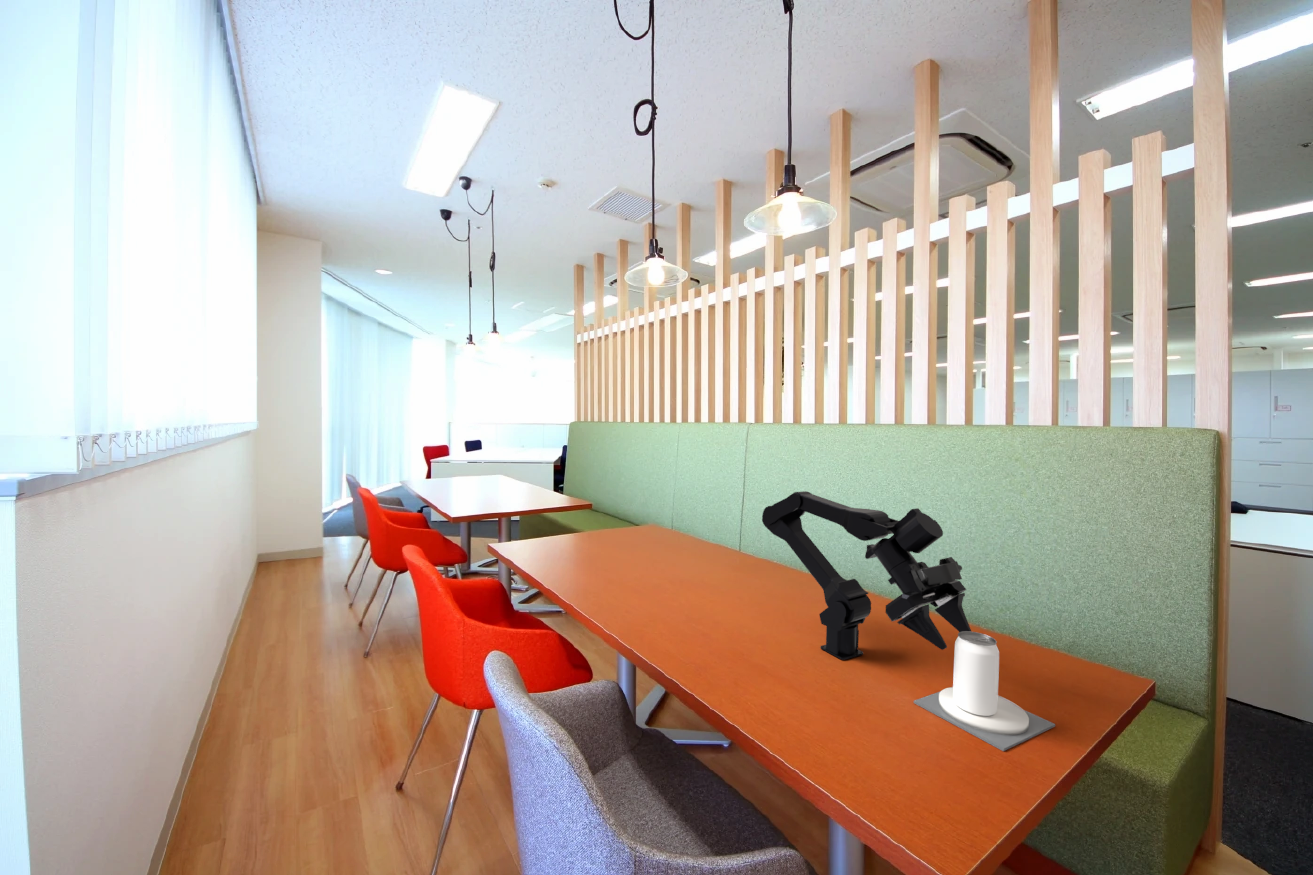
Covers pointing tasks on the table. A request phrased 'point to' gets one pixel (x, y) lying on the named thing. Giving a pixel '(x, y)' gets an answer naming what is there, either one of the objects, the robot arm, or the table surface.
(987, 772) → the table surface
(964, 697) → the can
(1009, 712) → the dish
